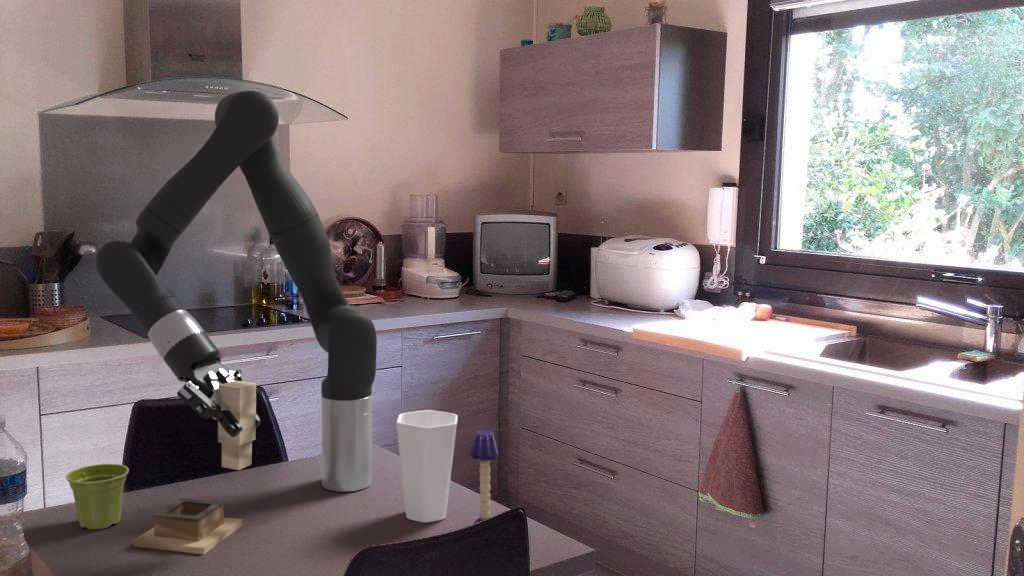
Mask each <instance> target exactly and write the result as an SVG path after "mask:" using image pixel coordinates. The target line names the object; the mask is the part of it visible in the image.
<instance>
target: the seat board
mask: <svg viewBox="0 0 1024 576" xmlns="http://www.w3.org/2000/svg"><path fill="white" fill-rule="evenodd" d="M224 514H225V513H224V502H223V501H222V502H221V501H215V500H214V501H212V500H205V499H204V500H203V499H202V500H201V499H192V498H184V497H182V498H179V499H177V500H176V501H174V502H172V503H171V504H169V505H167V506H166V507H164V508H162V509H161V510H160V511H158V512H156V513H154V514H153V527H152V528H150V529H149V530H148V531H145V532H144V533H143V534H141V535H139V536H138V537H136V538H134V539H133V540H132V541H133V544H132V545H133V547H134V548H144V549H151V550H152V549H153V550H161V551H170V552H180V553H188V554H198V555H205V554H207V553H208V552H210V550H212V549H213V548H215V547H216V546H218V545H219V544H220V543H222V542H223V541H224V540H225V539H227V538H228V537H230V535H232V534H233V533H235V532H236V531H238V530H239V529H240V528H241V527H242V526H244V522H243V521H244V520H243V519H241V518H232V517H224V516H225V515H224Z"/></svg>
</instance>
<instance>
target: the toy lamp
mask: <svg viewBox="0 0 1024 576" xmlns="http://www.w3.org/2000/svg"><path fill="white" fill-rule="evenodd" d="M469 454H470V457H471V458H472V459H473V460H476V461H478V462H479V465H480V466H479V474H480V475H479V482H480V484H479V500H480V503H479V509H480V510H479V518H477V519H476V520H475V521H474V522H473V524H475V523H477V522H480V521H483V520H486V519H488V518H491V511H490V510H491V493H490V491H491V487H492V486H491V484H490V483H491V475H490V474H491V466H490V464H491V461H492V460H493V461H494V460H496V459H497V458H498V457H499V449H498V445H497V441H496V438H495V434H494V432H493V431H491V430H488V429H483V430H478V431H476V432H475V433H474V437H473V440H472V445H471V449H470V453H469Z"/></svg>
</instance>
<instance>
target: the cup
mask: <svg viewBox="0 0 1024 576" xmlns="http://www.w3.org/2000/svg"><path fill="white" fill-rule="evenodd" d="M395 423H396V424H395V425H396V433H397V442H398V443H397V444H398V452H399V461H400V471H401V472H400V473H401V481H402V491H403V499H404V500H403V501H404V509H405V510H404V511H405V517H406V518H407V519H408V520H411V521H415V522H419V523H432V522H436V521H442V520H445V519H447V512H448V504H449V496H450V488H451V487H450V485H451V477H452V469H453V460H454V451H455V444H456V435H457V425H458V414H456V413H451V412H447V411H446V412H445V411H440V410H434V409H426V410H416V411H410V412H404V413H400V414H398V416H397V419H396V422H395Z"/></svg>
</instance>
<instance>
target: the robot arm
mask: <svg viewBox="0 0 1024 576" xmlns="http://www.w3.org/2000/svg"><path fill="white" fill-rule="evenodd" d="M279 117H280V115H279V111H278V108H277V106H276V104H275V102H274V101H273V100H272V98H270V97H269V96H268V95H267V94H265V93H262V92H260V91H255V90H241V91H238V92H234V93H230V94H228V95H226V96H224V97H223V98H222V99H220V101H219V102H218V104H217V105H216V108H215V112H214V122H215V124H214V125H215V129H214V130H213V132H212V133H211V135H210V137H208V139H207V140H206V142H205V143H204V144H203V145H202V147H201V148H200V149H199V150H198V151H197V152H196V153H195V154H194V156H193V157H191V158H190V159H189V160H188V161H187V162H186V163H185V164H184V165H183V166H182V167H181V168H180V169H179V170H178V171H177V172H176V173H175V174H174V175H173V176H171V177H170V179H168V180H167V181H166V182H165V183H164V184H163V185H162V186H161V188H160V189H159V190H158V191H157V192H156V194H154V196H153V197H152V198H151V199H150V201H149V202H148V203H147V204H146V205H145V206H144V208H143V209H142V211H141V212H140V213H139V214H138V216H137V217H136V221H135V224H136V228H137V230H136V233H135V234H134V236H133V238H132V240H131V241H130V242H127V241H126V240H112V241H109V242H107V243H105V244H103V245H102V246H101V247H100V248H99V249H98V250H97V253H96V256H95V267H96V268H95V269H96V272H97V273H98V276H99V277H100V279H102V281H103V282H104V283H105V285H106V286H107V287H108V289H110V290H111V292H113V294H114V295H115V296H116V297H117V298H118V300H120V302H122V303H123V305H124V306H126V308H128V310H129V311H130V313H131V314H132V315H133V317H134V320H136V322H137V323H138V325H139V326H140V327H141V328H142V330H143V331H144V332H145V334H146V335H147V337H148V338H149V340H150V342H151V344H152V346H153V347H154V349H155V350H156V352H157V354H159V356H160V358H162V360H163V361H164V362H165V364H166V365H167V366H168V368H169V370H170V371H171V372H172V374H174V376H175V377H176V379H177V380H178V381H180V382H182V383H185V384H184V385H182V387H181V388H180V389H179V390H178V391H177V393H176V395H177V396H178V398H180V400H181V401H183V402H184V403H186V404H187V405H188V407H190V408H191V409H192V410H193V411H194V412H196V413H197V415H199V416H200V417H202V419H204V420H208V419H209V418H212V419H213V420H215V421H216V420H217V422H218V421H219V423H220V424H221V425H222V427H223V428H224V429H225V431H226V432H227V433H228V434H229V435H230V436H231V437H235V436H237V435H238V434H239V433H240V432H241V431H242V426H241V425H240V424H239V422H238V421H237V420H236V418H235V417H234V416H233V414H232V413H231V412H230V410H228V411H226V410H227V406H226V404H225V403H224V401H223V400H222V398H221V397H222V394H221V393H220V391H219V390H218V385H221V384H224V383H228V382H231V381H235V380H236V381H243V382H249V380H248V378H247V375H246V373H245V371H244V370H243V369H242V368H241V367H238V368H237V369H236V370H229V368H228V367H227V366H225V365H224V364H223V363H222V362H221V351H220V350H219V349H218V347H217V346H216V345H215V343H214V342H213V341H212V339H211V338H210V337H209V335H208V334H207V332H206V331H205V330H204V329H203V327H202V326H201V325H200V324H199V321H197V320H196V318H194V316H193V315H192V314H191V313H189V311H188V310H187V308H185V306H184V305H183V304H182V302H181V301H180V300H179V298H178V297H177V295H176V294H175V293H174V292H173V291H172V290H171V289H170V288H169V287H167V285H165V284H164V283H163V282H162V281H161V280H160V279H159V278H158V274H159V273H160V271H161V269H162V267H164V264H165V263H166V260H167V258H168V256H169V254H170V252H171V250H172V248H173V246H174V243H176V241H177V240H178V239H179V238H180V237H181V235H182V234H183V233H184V232H185V231H186V230H187V228H188V227H189V226H190V225H191V223H192V222H193V221H194V220H195V218H196V217H197V215H199V213H200V212H201V211H202V210H203V208H204V207H205V205H206V204H207V203H208V202H209V201H210V200H211V198H212V197H213V195H214V194H215V193H216V192H217V190H218V189H219V188H220V187H221V186H222V185H223V184H224V182H225V181H226V180H227V179H228V178H229V176H230V175H232V174H233V172H234V171H235V170H237V169H238V168H239V169H240V170H241V173H242V174H243V175H244V178H245V180H246V182H247V185H248V187H249V190H250V193H251V195H252V197H253V200H254V203H255V205H256V207H257V209H258V211H259V215H260V217H261V218H262V221H263V223H264V226H265V228H266V231H267V233H268V235H269V237H270V238H271V241H272V243H273V246H274V247H275V250H276V252H277V254H278V255H279V258H280V260H281V261H282V263H283V265H284V268H285V269H286V271H287V272H288V275H289V277H290V278H291V280H292V282H293V284H294V286H295V287H296V289H297V291H298V293H299V294H300V297H301V299H302V301H303V304H304V307H305V310H306V313H307V315H308V319H309V320H310V325H311V326H312V330H313V333H314V336H315V339H316V341H317V343H318V345H319V346H320V347H321V349H323V351H325V352H326V353H328V355H327V357H328V359H327V375H326V377H325V378H323V380H322V381H321V383H320V384H321V389H320V391H321V393H320V394H321V395H320V397H321V398H320V400H321V401H320V402H321V406H320V408H321V409H320V410H321V487H323V488H324V489H326V490H329V491H333V492H341V493H342V492H344V493H345V492H356V491H360V490H364V489H366V488H368V487H370V486H371V485H372V481H373V480H372V464H373V463H372V459H373V457H372V455H373V454H372V453H373V452H372V451H373V450H372V447H373V445H372V444H373V443H372V442H373V441H372V440H373V439H372V433H373V432H372V427H373V425H372V422H373V420H372V419H373V417H372V416H373V415H372V413H373V411H372V409H373V408H372V406H373V405H372V404H373V402H372V400H373V399H372V397H373V396H372V391H373V390H372V389H373V388H372V387H373V384H374V382H375V379H376V373H377V372H376V371H377V349H378V348H377V347H378V346H377V343H378V342H377V341H378V339H377V330H376V327H375V324H374V322H373V321H372V319H371V318H370V317H369V316H368V315H366V314H364V313H362V312H360V311H357V310H354V309H353V307H352V306H351V305H350V302H348V300H347V298H346V295H345V294H344V292H343V290H342V288H341V287H340V284H339V282H338V280H337V277H336V273H335V270H334V262H333V256H332V249H331V248H332V247H331V244H330V240H329V238H328V233H327V231H326V228H325V227H324V224H323V222H322V220H321V217H320V215H319V213H318V212H317V209H316V206H315V205H314V203H313V202H312V200H311V199H310V197H309V196H308V194H307V193H306V191H305V190H304V189H303V187H302V186H301V184H300V182H298V181H297V179H296V178H295V177H294V175H293V174H292V173H291V171H290V169H288V167H287V165H286V164H285V162H284V160H283V158H282V156H281V154H280V152H279V149H278V147H277V144H276V142H275V139H274V134H276V130H277V128H278V126H279V123H280V122H279V119H280V118H279ZM200 403H202V405H203V406H201V405H200ZM261 423H262V422H261V419H260V417H259V415H258V414H257V413H256V426H255V427H256V428H258V426H260V425H261Z"/></svg>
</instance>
